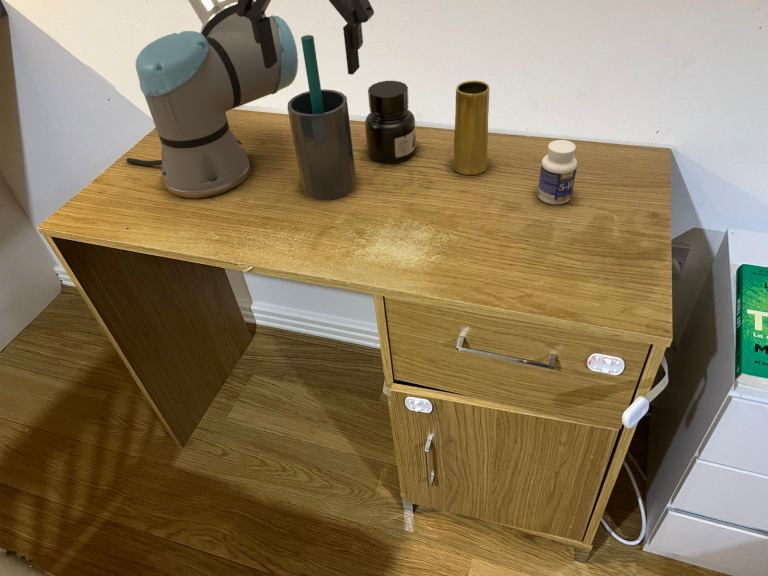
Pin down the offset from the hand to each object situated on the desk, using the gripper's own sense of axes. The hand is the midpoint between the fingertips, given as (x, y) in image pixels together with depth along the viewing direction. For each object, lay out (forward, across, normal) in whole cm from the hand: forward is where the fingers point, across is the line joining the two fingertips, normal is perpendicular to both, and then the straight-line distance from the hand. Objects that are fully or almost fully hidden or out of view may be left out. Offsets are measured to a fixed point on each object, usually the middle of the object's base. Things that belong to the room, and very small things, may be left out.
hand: (311, 67), depth 88 cm
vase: (+20, +22, +11) cm, 32 cm away
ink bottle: (+21, +7, +13) cm, 25 cm away
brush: (+20, 0, 0) cm, 20 cm away
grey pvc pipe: (+20, 0, 0) cm, 20 cm away
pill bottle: (+20, +37, +5) cm, 43 cm away
